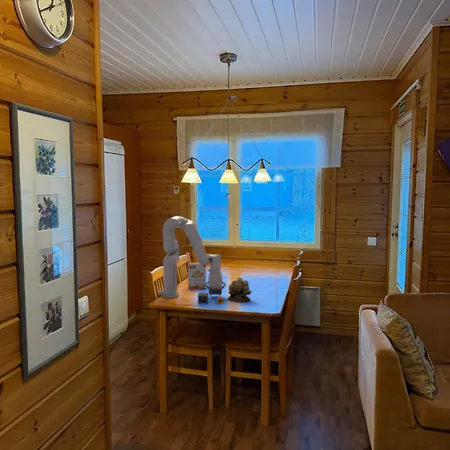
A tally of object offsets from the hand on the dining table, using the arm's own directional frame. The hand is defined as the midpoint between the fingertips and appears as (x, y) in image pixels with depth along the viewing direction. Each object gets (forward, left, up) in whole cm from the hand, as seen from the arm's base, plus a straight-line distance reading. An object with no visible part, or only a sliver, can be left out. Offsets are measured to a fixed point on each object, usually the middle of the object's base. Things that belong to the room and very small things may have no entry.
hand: (215, 294), depth 305 cm
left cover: (-8, -13, -2) cm, 15 cm away
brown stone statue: (+18, -6, -3) cm, 19 cm away
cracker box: (-16, +26, -2) cm, 31 cm away
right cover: (0, 0, -1) cm, 1 cm away
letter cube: (+4, -14, -2) cm, 14 cm away
